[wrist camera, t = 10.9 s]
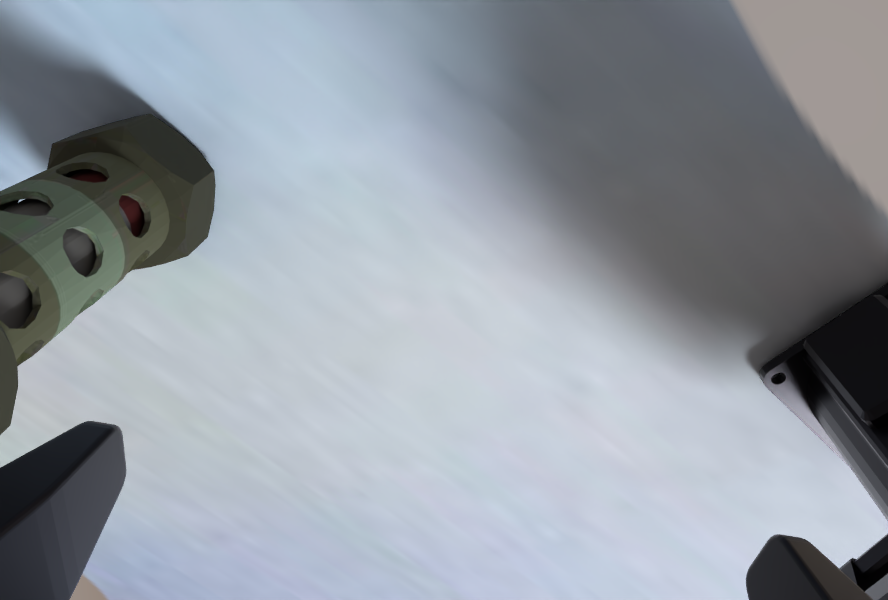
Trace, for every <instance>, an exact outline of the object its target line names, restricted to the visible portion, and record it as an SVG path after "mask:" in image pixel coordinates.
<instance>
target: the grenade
mask: <svg viewBox="0 0 888 600" xmlns="http://www.w3.org/2000/svg"><path fill="white" fill-rule="evenodd" d="M20 199H25V200H23V201H21V202H19V203H18V201H19V200H20ZM214 199H215V176H214V170H213V169H212V167H211V166H210V165H209V163H208V162H207V161H206V160H205V158H204V157H203V156H202V154H201V153H200V152H199V151H198V150H197V149H196V148H195V147H194V146H193V145H192V144H191V143H189V142H188V141H187V140H186V139H185V138H184V137H183V136H182V135H181V134H179V133H178V132H177V131H175V130H174V129H172V128H171V127H169V126H168V125H166V124H165V123H163V122H162V121H160V120H159V119H158V118H156V117H155V116H153V115H152V114H146V115H142V116H137V117H133V118H129V119H125V120H121V121H117V122H114V123H110V124H107V125H103V126H100V127H96V128H93V129H89V130H86V131H82V132H80V133H78V134H75V135H73V136H70V137H68V138H65V139H63V140H60V141H58V142H56V143H53V144H52V148H51V153H50V158H49V163H48V168H47V170H46V171H43V172H41V173H39V174H37V175H35V176H33V177H30V178H28V179H26V180H24V181H22V182H20V183H18V184H15V185H13V186H11V187H9V188H7V189H5V190H2V191H0V435H1V434H2V433H3V432H4V431H5V430H6V429H7V428H8V427H9V426H10V424H11V419H12V414H13V409H14V404H15V399H16V394H17V389H18V370H17V366H18V365H20V364H21V363H23V362H24V361H26V360H27V359H29V358H30V357H32V356H33V355H34V354H35V353H37V352H38V351H39V350H40V349H41V348H42V347H44V346H45V345H46V344H47V343H48V342H49V341H51V340H52V339H53V338H54V337H55V336H56V335H58V334H59V333H60V332H61V331H62V330H63V329H65V328H66V327H67V326H68V325H69V324H70V323H71V322H72V321H73V320H74V318H75V317H76V316H77V315H79V314H80V313H81V312H83V311H84V310H85V309H87V308H88V307H90V306H91V305H93V304H94V303H95V302H96V301H98V300H99V299H100V298H101V297H102V296H103V295H105V294H106V293H107V292H108V291H109V290H111V289H112V288H113V287H114V286H115V285H116V284H118V283H119V282H120V281H121V280H122V279H123V278H124V277H125V275H126V274H127V273H128V272H130V271H131V270H135V269H141V268H148V267H152V266H156V265H160V264H164V263H168V262H171V261H174V260H177V259H180V258H183V257H186V256H188V255H189V254H190V253H191V252H192V251H194V250H195V249H196V248H197V247H198V246H199V245H200V244H201V243H202V242H203V241H204V240H205V239H206V238H207V237H208V233H209V229H210V224H211V220H212V216H213V211H214Z"/></svg>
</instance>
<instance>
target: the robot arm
mask: <svg viewBox="0 0 888 600" xmlns="http://www.w3.org/2000/svg"><path fill="white" fill-rule="evenodd" d="M777 373H781V374H780V375H779V376H778V377H775V378H771V377H772V376H773V375H774V374H777ZM760 378H761V379H762V381H763V383H764V384H765V386H766V387H767V388H768V389H769V390H770V391H771V392H772V393H773V394H774V395H775V396H776V397H777V398H778V399H779V400H780V401H782V402H783V403H784V404H785V405H786V406H787V407H788V408H789V409H790V410H791V411H792V412H793V413H794V414H795V415H796V416H797V417H798V418H799V419H800V420H801V421H802V422H803V423H804V424H805V425H807V426H808V427H809V428H810V429H811V430H812V431H813V432H814V433H815V434H816V435H817V436H818V437H819V438H820V439H821V440H822V441H823V442H824V443H825V444H826V445H827V446H828V447H829V448H830V449H832V450H833V451H834V452H835V453H836V454H837V455H838V456H839V457H840V458H841V459H842V460H843V461H844V462H845V463H846V464H847V465H848V466H849V467H850V468H851V469H852V471H853V472H854V473H855V475H856V476H857V478H858V479H859V481H860V482H861V483H862V485H863V486H864V488H865V489H866V491H867V492H868V493H869V495H870V496H871V498H872V499H873V501H874V502H875V503H876V505H877V506H878V508H879V509H880V510H881V512H882V513H883V515H884V516H885V518H886V519H887V520H888V284H886V285H885V286H883V287H882V288H880V289H879V290H877V291H876V292H874V293H873V294H871V295H870V296H868V297H867V298H865V299H864V300H862V301H861V302H859V303H858V304H856V305H855V306H853V307H851V308H850V309H848V310H847V311H845V312H844V313H842V314H841V315H839V316H838V317H836V318H835V319H833V320H832V321H830V322H829V323H827V324H826V325H824V326H823V327H821V328H820V329H818V330H817V331H815V332H814V333H812V334H811V335H809V336H808V337H806V338H805V339H803V340H802V341H800V342H799V343H797V344H795V345H794V346H792V347H791V348H789V349H788V350H786V351H785V352H783V353H782V354H780V355H779V356H777V357H776V358H774V359H773V360H771V361H770V362H768V363H767V364H765V365H764V366H763V367H762V368H761V370H760ZM125 477H126V462H125V453H124V444H123V435H122V431H121V429H120V428H119V427H118V426H116V425H113V424H107V423H101V422H94V421H87V422H84V423H81V424H79V425H77V426H75V427H74V428H72V429H70V430H68V431H66V432H65V433H63V434H61V435H59V436H57V437H56V438H54V439H52V440H50V441H48V442H46V443H45V444H43V445H41V446H39V447H37V448H36V449H34V450H32V451H30V452H28V453H26V454H25V455H23V456H21V457H19V458H17V459H16V460H14V461H12V462H10V463H8V464H6V465H5V466H3V467H1V468H0V600H69V599H70V598H71V596H72V593H73V592H74V590H75V588H76V585H77V583H78V582H79V579H80V577H81V575H82V573H83V571H84V569H85V567H86V564H87V562H88V560H89V558H90V556H91V554H92V552H93V549H94V547H95V545H96V543H97V541H98V539H99V536H100V534H101V532H102V530H103V528H104V526H105V524H106V521H107V519H108V517H109V515H110V513H111V511H112V509H113V506H114V504H115V502H116V500H117V498H118V496H119V493H120V491H121V489H122V487H123V484H124V481H125ZM746 587H747V593H748V598H749V600H888V534H887V535H885V536H884V537H883V538H882V539H881V540H879V541H878V542H877V543H876V544H875V545H873V546H872V547H871V548H870V549H868V550H867V551H866V552H865V553H864V554H862V555H861V556H860V557H859V558H858V559H853V558H852V559H850V560H849V561H848V562H847V563H846V564H844V565H843V566H842V567H841V568H840V569H839V568H838V567H837V566H835V565H834V564H833V563H832V562H831V561H830V560H829V559H828V558H827V557H826V556H824V555H823V554H822V553H821V552H820V551H819V550H818V549H817V548H816V547H814V546H813V545H812V544H811V543H810V542H809V541H807V540H805V539H802V538H798V537H792V536H786V535H780V534H779V535H774V536H772V537H771V538H770V539H769V540H768V541H767V543H766V544H765V546H764V547H763V548H762V550H761V551H760V553H759V554H758V556H757V557H756V559H755V560H754V562H753V563H752V564H751V566H750V567H749V569H748V572H747V577H746Z"/></svg>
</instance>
